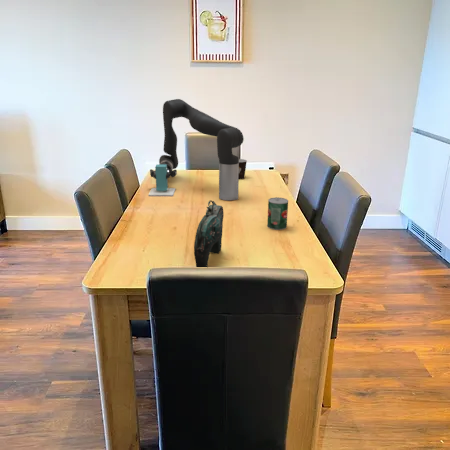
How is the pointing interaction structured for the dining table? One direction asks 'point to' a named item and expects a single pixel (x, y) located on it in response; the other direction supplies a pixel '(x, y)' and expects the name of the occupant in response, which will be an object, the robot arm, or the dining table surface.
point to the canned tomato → (277, 213)
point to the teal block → (161, 177)
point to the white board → (162, 192)
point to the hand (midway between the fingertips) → (160, 176)
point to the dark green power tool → (209, 234)
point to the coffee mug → (242, 168)
